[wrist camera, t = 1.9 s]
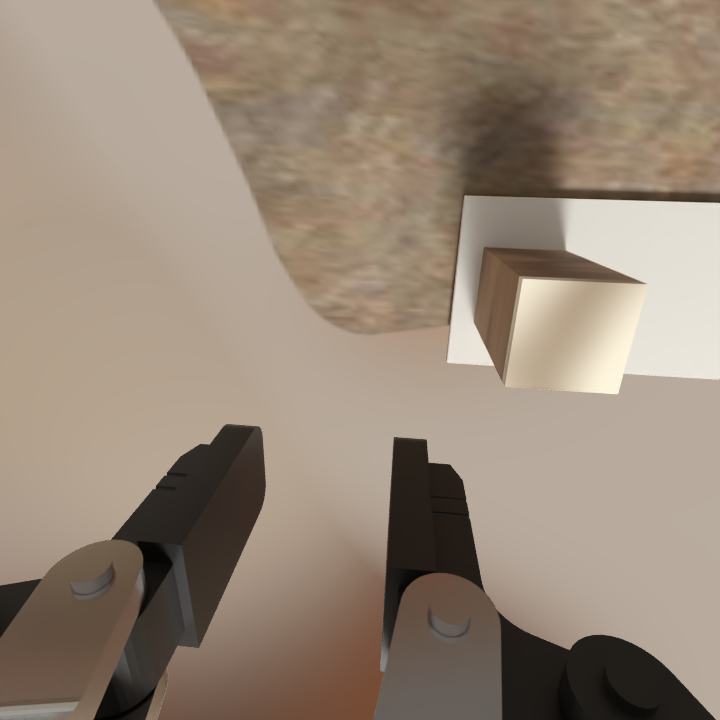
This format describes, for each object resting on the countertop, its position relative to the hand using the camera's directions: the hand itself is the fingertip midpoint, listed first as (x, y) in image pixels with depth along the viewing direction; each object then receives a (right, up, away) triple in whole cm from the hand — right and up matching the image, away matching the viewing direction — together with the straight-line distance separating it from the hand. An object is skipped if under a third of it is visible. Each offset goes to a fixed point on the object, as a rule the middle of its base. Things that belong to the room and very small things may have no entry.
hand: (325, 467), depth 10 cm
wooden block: (+11, +7, +18) cm, 22 cm away
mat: (+16, +7, +18) cm, 25 cm away
